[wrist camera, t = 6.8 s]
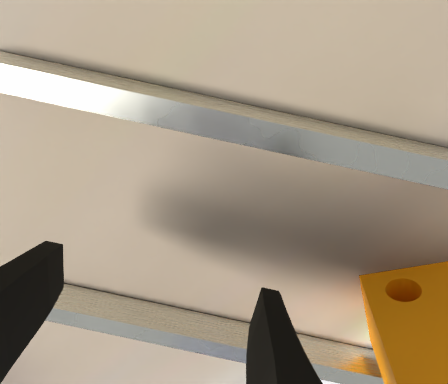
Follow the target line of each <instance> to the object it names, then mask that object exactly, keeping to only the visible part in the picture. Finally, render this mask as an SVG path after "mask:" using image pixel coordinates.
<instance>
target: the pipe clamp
mask: <svg viewBox="0 0 448 384" xmlns="http://www.w3.org/2000/svg"><path fill="white" fill-rule="evenodd" d="M359 278H360V284H361V289H362V295H363V301H364V306H365V312H366V318H367V323H368V329H369V335H370V341H371V344H372V347H373V350H374V353H375V356H376V360H377V363H378V366H379V369H380V372H381V375H382V379H383V382H384V384H448V261H446V262H440V263H434V264H428V265H421V266H415V267H409V268H403V269H396V270H390V271H384V272H378V273H371V274H365V275H359Z"/></svg>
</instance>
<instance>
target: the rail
mask: <svg viewBox="0 0 448 384" xmlns="http://www.w3.org/2000/svg"><path fill="white" fill-rule="evenodd" d="M0 93H5V94H10V95H14V96H19V97H23V98H28V99H33V100H37V101H42V102H47V103H51V104H56V105H60V106H65V107H70V108H74V109H79V110H83V111H88V112H93V113H97V114H102V115H107V116H111V117H116V118H120V119H125V120H130V121H134V122H139V123H143V124H148V125H153V126H157V127H162V128H167V129H171V130H176V131H180V132H185V133H190V134H194V135H199V136H203V137H208V138H213V139H217V140H222V141H227V142H231V143H236V144H240V145H245V146H250V147H254V148H259V149H263V150H268V151H273V152H277V153H282V154H287V155H291V156H296V157H300V158H305V159H310V160H314V161H319V162H323V163H328V164H333V165H337V166H342V167H347V168H351V169H356V170H360V171H365V172H370V173H374V174H379V175H383V176H388V177H393V178H397V179H402V180H407V181H411V182H416V183H420V184H425V185H430V186H434V187H439V188H443V189H448V148H445V147H441V146H436V145H431V144H427V143H422V142H418V141H413V140H408V139H404V138H399V137H395V136H390V135H385V134H381V133H376V132H371V131H367V130H362V129H358V128H353V127H348V126H344V125H339V124H335V123H330V122H325V121H321V120H316V119H312V118H307V117H302V116H298V115H293V114H289V113H284V112H279V111H275V110H270V109H266V108H261V107H256V106H252V105H247V104H243V103H238V102H233V101H229V100H224V99H220V98H215V97H210V96H206V95H201V94H197V93H192V92H187V91H183V90H178V89H174V88H169V87H164V86H160V85H155V84H150V83H146V82H141V81H137V80H132V79H127V78H123V77H118V76H114V75H109V74H104V73H100V72H95V71H91V70H86V69H81V68H77V67H72V66H68V65H63V64H58V63H54V62H49V61H45V60H40V59H35V58H31V57H26V56H22V55H17V54H12V53H8V52H3V51H0ZM45 321H50V322H55V323H59V324H64V325H69V326H73V327H78V328H83V329H87V330H92V331H97V332H102V333H106V334H111V335H116V336H120V337H125V338H130V339H134V340H139V341H144V342H148V343H153V344H158V345H162V346H167V347H172V348H176V349H181V350H186V351H190V352H195V353H200V354H204V355H209V356H214V357H218V358H223V359H228V360H232V361H237V362H242V363H246V352H247V341H248V332H249V326H250V323H246V322H241V321H236V320H232V319H227V318H222V317H218V316H213V315H208V314H204V313H199V312H194V311H190V310H185V309H180V308H176V307H171V306H166V305H162V304H157V303H152V302H148V301H143V300H138V299H134V298H129V297H124V296H120V295H115V294H110V293H106V292H101V291H96V290H92V289H87V288H82V287H78V286H73V285H69V284H64V288H63V290H62V292H61V294H60V296H59V298H58V300H57V302H56V303H55V305H54V307H53V309H52V311H51V312H50V314H49V315H48V317H47V318H46V320H45ZM296 334H297V333H296ZM297 336H298V338H299V340H300V343H301V345H302V347H303V349H304V351H305V353H306V355H307V357H308V359H309V360H310V362H311V364H312V366H313V368H314V370H315V371H316V373H317V375H318V377H319V378H320V379H321V380H326V381H331V382H335V383H340V384H384V382H383V379H382V375H381V372H380V369H379V366H378V363H377V360H376V356H375V353H374V350H372V349H367V348H362V347H358V346H353V345H348V344H344V343H339V342H334V341H330V340H325V339H320V338H316V337H311V336H306V335H302V334H297Z"/></svg>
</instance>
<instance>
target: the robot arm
mask: <svg viewBox="0 0 448 384" xmlns="http://www.w3.org/2000/svg"><path fill="white" fill-rule="evenodd" d="M63 288H64V272H63V244H58V243H54V242H49V241H45V242H43V243H41V244H39V245H38V246H36V247H34V248H32V249H31V250H29V251H27V252H25V253H24V254H22V255H20V256H18V257H17V258H15V259H13V260H11V261H10V262H8V263H6V264H4V265H2V266H1V267H0V384H1V382H2V381H3V379H4V377H5V376H6V374H7V373H8V371H9V370H10V369H11V367H12V366H13V364H14V363H15V362H16V360H17V359H18V357H19V356H20V355H21V353H22V352H23V350H24V349H25V348H26V346H27V345H28V344H29V342H30V341H31V339H32V338H33V337H34V335H35V334H36V332H37V331H38V330H39V328H40V327H41V325H42V324H43V323H44V321H45V320H46V318H47V317H48V315H49V314H50V312H51V311H52V309H53V307H54V305H55V303H56V302H57V300H58V298H59V296H60V294H61V292H62V290H63ZM246 384H323V383H322V382H321V380H320V378H319V377H318V375H317V373H316V371H315V370H314V368H313V366H312V364H311V362H310V360H309V359H308V357H307V355H306V353H305V351H304V349H303V347H302V345H301V343H300V340H299V338H298V336H297V334H296V332H295V330H294V327H293V325H292V323H291V320H290V318H289V315H288V313H287V310H286V308H285V305H284V302H283V300H282V297H281V294H280V292H279V291H276V290H272V289H267V288H261V291H260V294H259V298H258V301H257V304H256V307H255V310H254V313H253V316H252V319H251V322H250V326H249V332H248V341H247V352H246Z"/></svg>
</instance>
